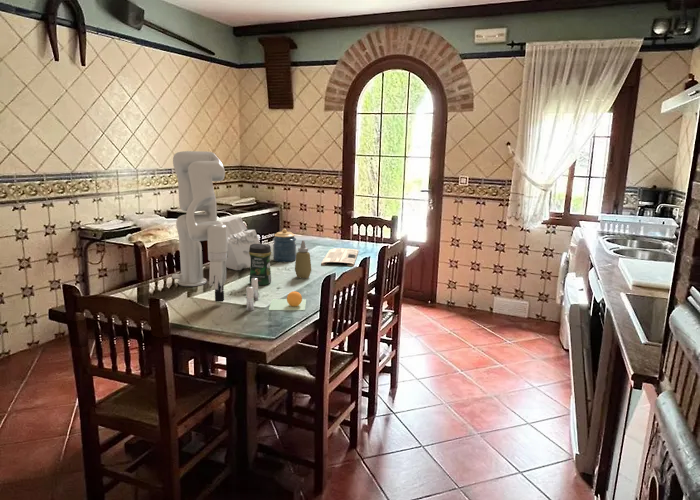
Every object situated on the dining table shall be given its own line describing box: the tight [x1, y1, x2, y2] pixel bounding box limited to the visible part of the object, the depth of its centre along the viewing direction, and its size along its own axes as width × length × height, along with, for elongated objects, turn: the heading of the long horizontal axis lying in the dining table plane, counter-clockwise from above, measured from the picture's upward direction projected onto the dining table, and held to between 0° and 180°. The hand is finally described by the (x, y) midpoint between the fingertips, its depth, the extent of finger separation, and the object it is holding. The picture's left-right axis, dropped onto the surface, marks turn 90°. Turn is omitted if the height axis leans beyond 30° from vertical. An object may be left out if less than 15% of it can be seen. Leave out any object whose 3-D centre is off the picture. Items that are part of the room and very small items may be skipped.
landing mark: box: [268, 298, 307, 311], centre depth 201 cm, size 14×14×1 cm
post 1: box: [245, 286, 255, 312], centre depth 193 cm, size 3×3×9 cm
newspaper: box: [320, 248, 360, 267], centre depth 286 cm, size 37×19×3 cm, turn 175°
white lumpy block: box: [219, 215, 261, 271], centre depth 258 cm, size 20×16×25 cm
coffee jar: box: [249, 243, 272, 286], centre depth 229 cm, size 10×8×19 cm
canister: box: [272, 228, 297, 263], centre depth 279 cm, size 13×13×18 cm
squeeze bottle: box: [294, 240, 312, 279], centre depth 242 cm, size 8×8×18 cm
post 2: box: [250, 278, 259, 302], centre depth 205 cm, size 3×3×9 cm
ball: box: [286, 290, 303, 307], centre depth 198 cm, size 6×6×6 cm
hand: (219, 300), depth 199 cm, fingers closed
